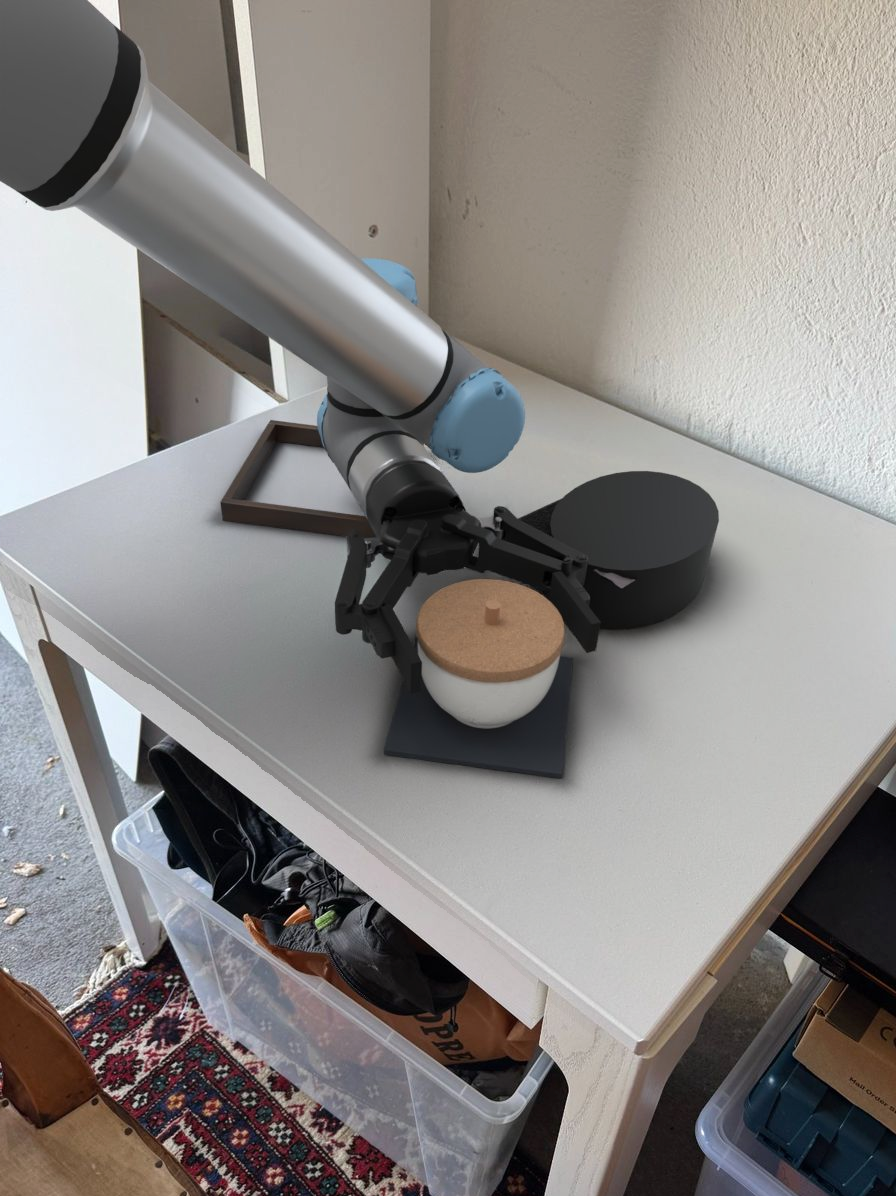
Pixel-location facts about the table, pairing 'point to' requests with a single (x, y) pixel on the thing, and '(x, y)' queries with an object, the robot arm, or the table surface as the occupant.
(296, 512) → the dark wooden square frame
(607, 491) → the tape dispenser
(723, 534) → the table surface
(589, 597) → the robot arm
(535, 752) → the mat
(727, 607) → the table surface
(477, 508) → the table surface
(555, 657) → the trinket box
